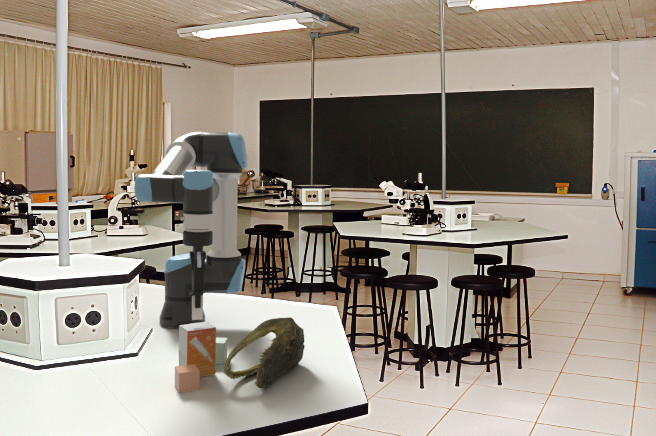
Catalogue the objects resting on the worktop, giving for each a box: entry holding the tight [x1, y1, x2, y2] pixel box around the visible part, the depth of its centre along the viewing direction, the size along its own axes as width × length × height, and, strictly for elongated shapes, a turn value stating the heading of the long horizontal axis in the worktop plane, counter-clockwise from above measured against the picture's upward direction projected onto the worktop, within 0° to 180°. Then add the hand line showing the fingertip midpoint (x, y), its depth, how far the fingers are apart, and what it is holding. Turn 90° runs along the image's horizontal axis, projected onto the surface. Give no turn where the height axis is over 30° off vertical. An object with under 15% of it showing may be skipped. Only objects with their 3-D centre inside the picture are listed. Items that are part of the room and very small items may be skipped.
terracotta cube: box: [174, 364, 200, 393], centre depth 151 cm, size 5×5×5 cm
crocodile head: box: [223, 317, 305, 389], centre depth 160 cm, size 27×17×15 cm
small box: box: [178, 321, 217, 378], centre depth 160 cm, size 8×6×13 cm
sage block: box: [215, 336, 228, 365], centre depth 170 cm, size 5×5×6 cm
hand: (197, 318), depth 159 cm, fingers closed
